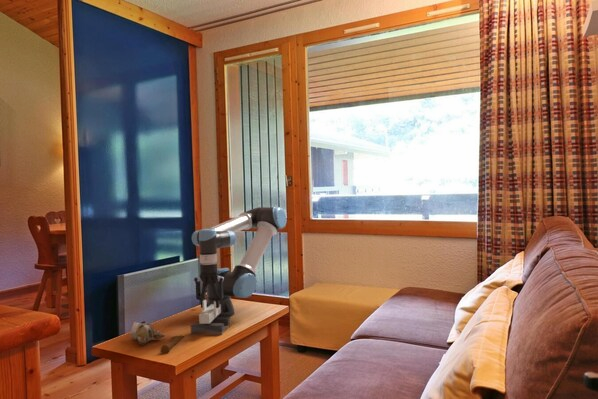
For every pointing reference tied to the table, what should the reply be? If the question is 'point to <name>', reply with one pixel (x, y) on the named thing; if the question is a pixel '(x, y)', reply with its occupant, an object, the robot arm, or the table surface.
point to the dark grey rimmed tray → (212, 327)
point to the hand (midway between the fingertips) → (210, 314)
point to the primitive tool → (171, 344)
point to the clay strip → (208, 315)
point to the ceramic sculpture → (144, 332)
